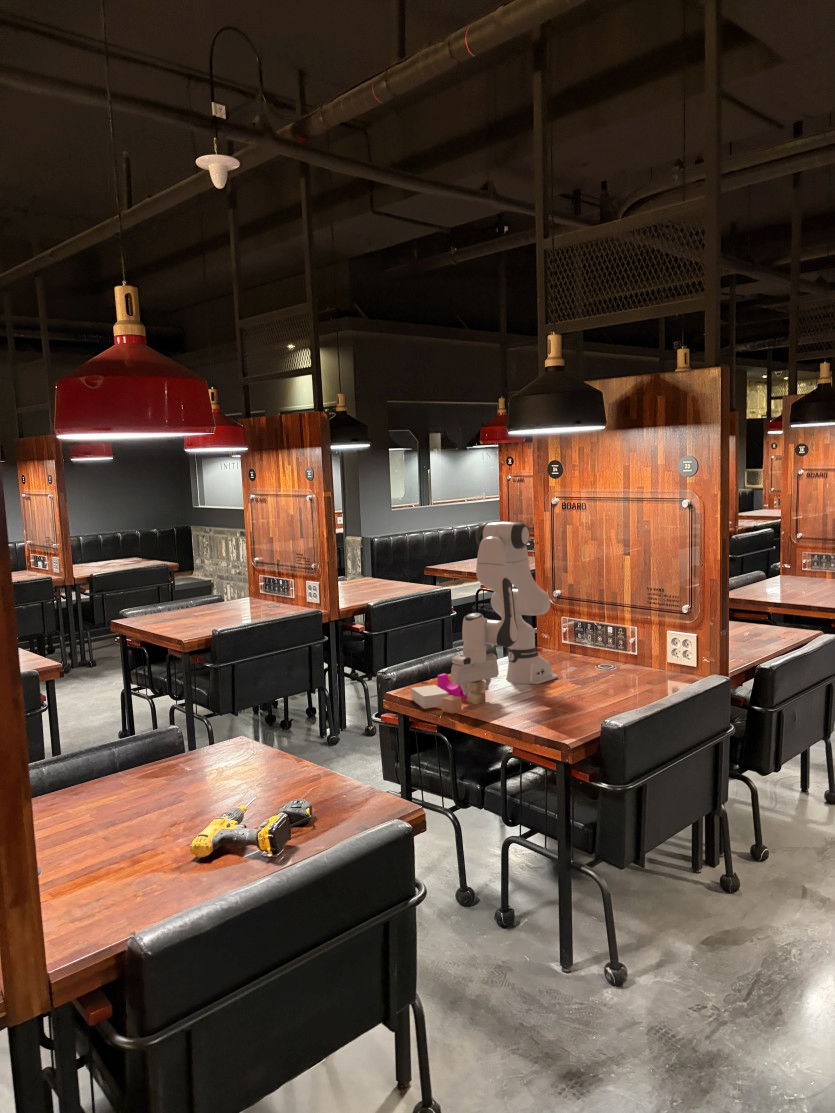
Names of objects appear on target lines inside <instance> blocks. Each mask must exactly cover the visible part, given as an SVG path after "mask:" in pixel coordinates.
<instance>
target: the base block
mask: <svg viewBox="0 0 835 1113" xmlns="http://www.w3.org/2000/svg"><path fill="white" fill-rule="evenodd" d="M410 689H411V691H410V692H411V700H412V699H413V700H415V702H414V703H415V704H417V705H419V706H420V707H421V708H422V709H424V710H425V709H430V708H436V707H435V706H439V707H442V698H444V697H447V696H449V694H448V692H446V691H444V690H443V689H441V688H439V687H438V685H437V684H432V685H423V686H416V687H411V688H410ZM413 700H412V701H413Z"/></svg>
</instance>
